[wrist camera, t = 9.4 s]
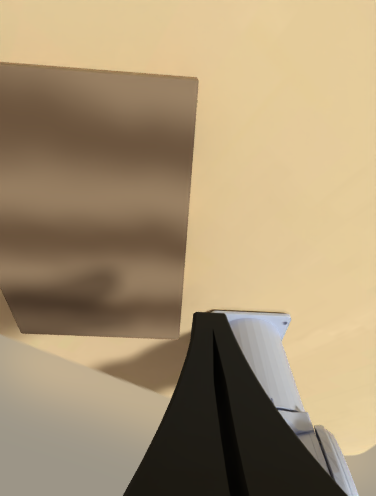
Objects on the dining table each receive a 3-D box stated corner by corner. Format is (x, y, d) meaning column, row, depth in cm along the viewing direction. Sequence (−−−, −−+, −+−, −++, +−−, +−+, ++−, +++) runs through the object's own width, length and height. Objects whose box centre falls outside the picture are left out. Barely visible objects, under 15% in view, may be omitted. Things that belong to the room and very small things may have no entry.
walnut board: (179, 314, 27) (178, 339, 24) (36, 307, 26) (21, 333, 24) (196, 77, 15) (198, 80, 13) (-57, 57, 15) (-106, 56, 12)
